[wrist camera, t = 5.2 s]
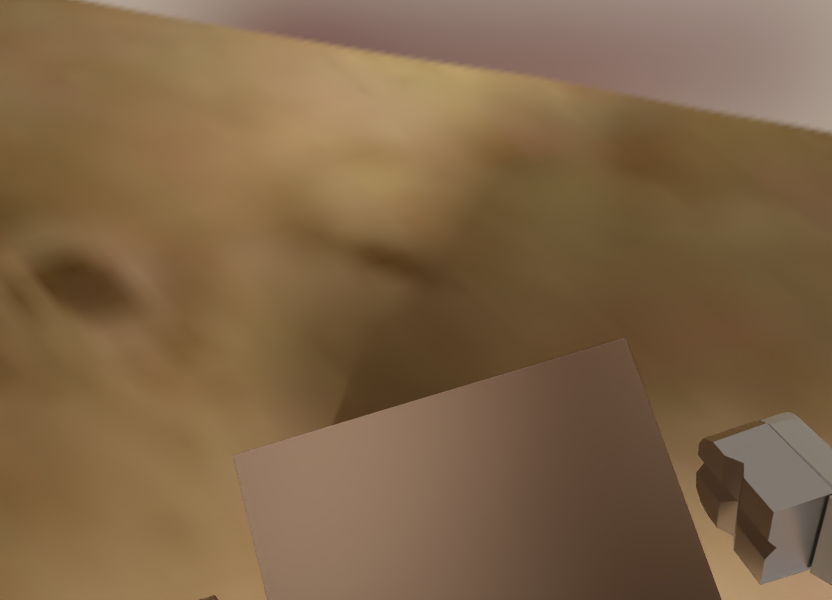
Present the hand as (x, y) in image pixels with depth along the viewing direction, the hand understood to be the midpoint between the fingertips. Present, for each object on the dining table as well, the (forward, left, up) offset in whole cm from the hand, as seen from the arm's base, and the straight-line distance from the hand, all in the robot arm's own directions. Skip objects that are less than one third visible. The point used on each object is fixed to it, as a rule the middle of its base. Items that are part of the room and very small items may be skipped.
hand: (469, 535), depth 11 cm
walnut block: (0, 0, -7) cm, 7 cm away
